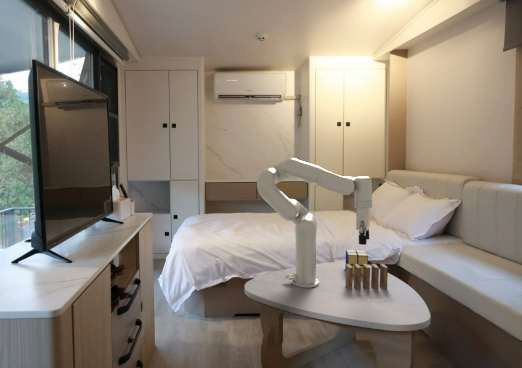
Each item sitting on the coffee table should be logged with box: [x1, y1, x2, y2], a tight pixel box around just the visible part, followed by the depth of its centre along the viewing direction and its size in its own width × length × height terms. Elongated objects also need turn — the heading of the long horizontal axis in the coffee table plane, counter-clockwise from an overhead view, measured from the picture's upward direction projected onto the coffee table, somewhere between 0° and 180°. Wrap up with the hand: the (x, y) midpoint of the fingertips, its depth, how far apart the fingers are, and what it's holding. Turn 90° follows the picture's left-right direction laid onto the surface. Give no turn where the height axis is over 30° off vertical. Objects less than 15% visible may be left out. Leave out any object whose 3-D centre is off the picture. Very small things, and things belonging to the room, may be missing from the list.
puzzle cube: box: [345, 249, 369, 276], centre depth 180 cm, size 10×10×10 cm
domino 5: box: [379, 263, 389, 290], centre depth 159 cm, size 2×5×10 cm, turn 2°
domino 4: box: [370, 263, 380, 290], centre depth 159 cm, size 2×5×10 cm, turn 2°
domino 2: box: [353, 264, 362, 290], centre depth 159 cm, size 2×5×10 cm, turn 2°
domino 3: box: [362, 264, 371, 290], centre depth 159 cm, size 2×5×10 cm, turn 2°
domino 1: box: [345, 263, 354, 290], centre depth 159 cm, size 2×5×10 cm, turn 2°
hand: (364, 241), depth 157 cm, fingers open, 9 cm apart
